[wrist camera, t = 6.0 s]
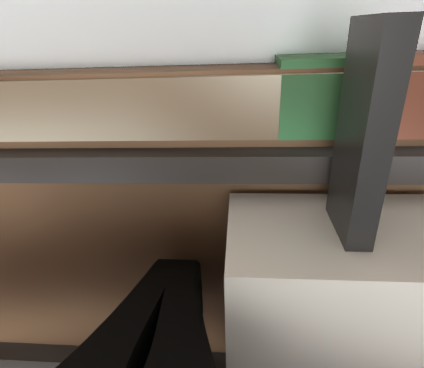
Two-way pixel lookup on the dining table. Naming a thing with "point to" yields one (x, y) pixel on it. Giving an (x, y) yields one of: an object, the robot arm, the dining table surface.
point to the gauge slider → (337, 235)
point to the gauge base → (154, 180)
